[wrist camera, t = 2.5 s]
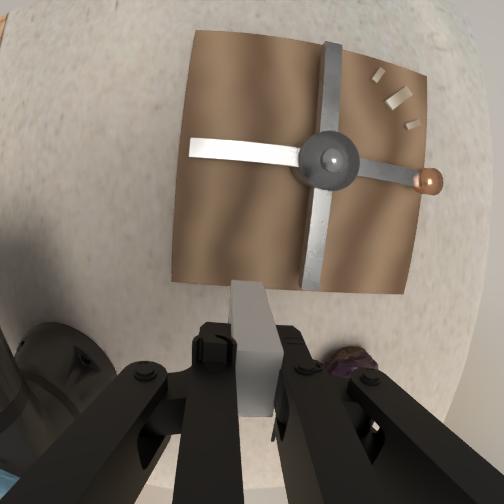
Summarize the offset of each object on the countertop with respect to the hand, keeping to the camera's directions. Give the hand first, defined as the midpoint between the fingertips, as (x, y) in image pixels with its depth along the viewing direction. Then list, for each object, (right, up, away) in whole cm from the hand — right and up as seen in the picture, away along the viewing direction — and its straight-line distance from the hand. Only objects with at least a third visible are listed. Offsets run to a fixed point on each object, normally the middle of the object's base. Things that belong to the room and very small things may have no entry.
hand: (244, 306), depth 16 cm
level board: (+6, +12, +15) cm, 20 cm away
